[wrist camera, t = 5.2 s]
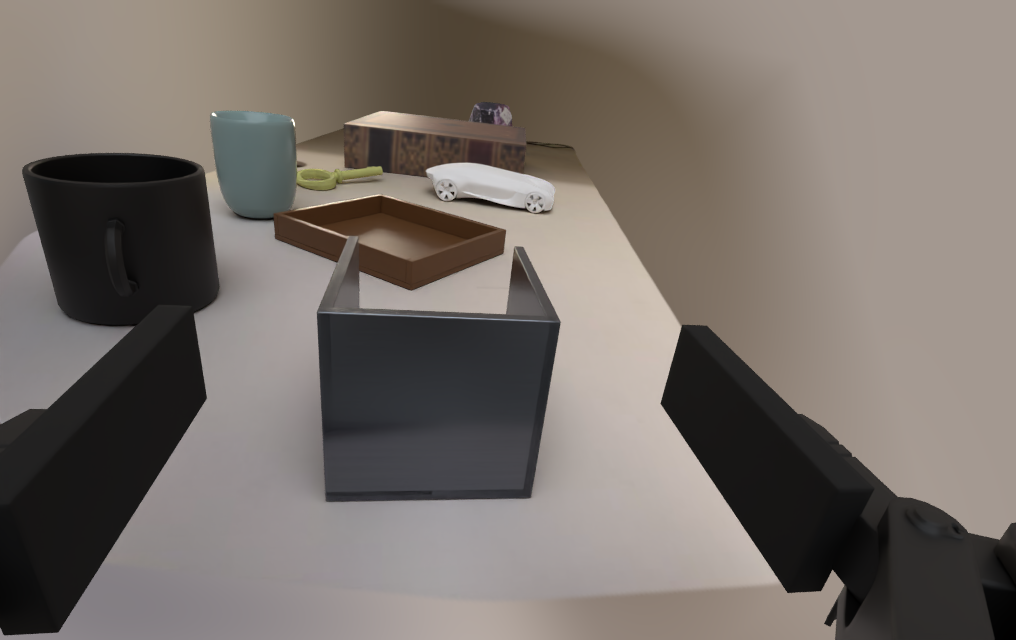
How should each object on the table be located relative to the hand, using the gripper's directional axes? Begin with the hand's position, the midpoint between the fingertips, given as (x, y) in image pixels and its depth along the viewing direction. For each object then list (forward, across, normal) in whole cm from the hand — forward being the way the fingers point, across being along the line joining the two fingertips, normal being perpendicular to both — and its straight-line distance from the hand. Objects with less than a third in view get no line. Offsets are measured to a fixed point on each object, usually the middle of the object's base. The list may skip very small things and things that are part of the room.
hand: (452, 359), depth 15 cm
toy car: (+62, +8, -10) cm, 63 cm away
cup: (+48, -18, -10) cm, 52 cm away
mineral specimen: (+114, +14, -10) cm, 115 cm away
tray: (+40, -4, -10) cm, 41 cm away
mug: (+24, -20, -10) cm, 32 cm away
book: (+86, +3, -10) cm, 87 cm away
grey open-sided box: (+10, 0, -10) cm, 14 cm away
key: (+65, -12, -10) cm, 67 cm away
